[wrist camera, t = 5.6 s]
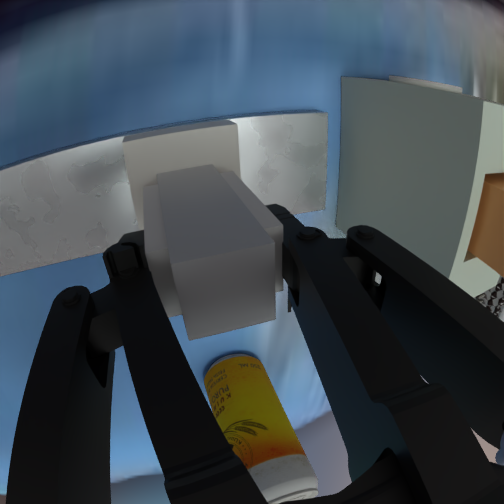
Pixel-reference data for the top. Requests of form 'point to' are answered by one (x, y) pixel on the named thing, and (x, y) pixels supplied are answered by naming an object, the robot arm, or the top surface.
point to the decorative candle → (494, 299)
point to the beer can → (259, 428)
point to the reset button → (490, 224)
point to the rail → (119, 194)
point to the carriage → (205, 225)
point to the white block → (419, 168)
